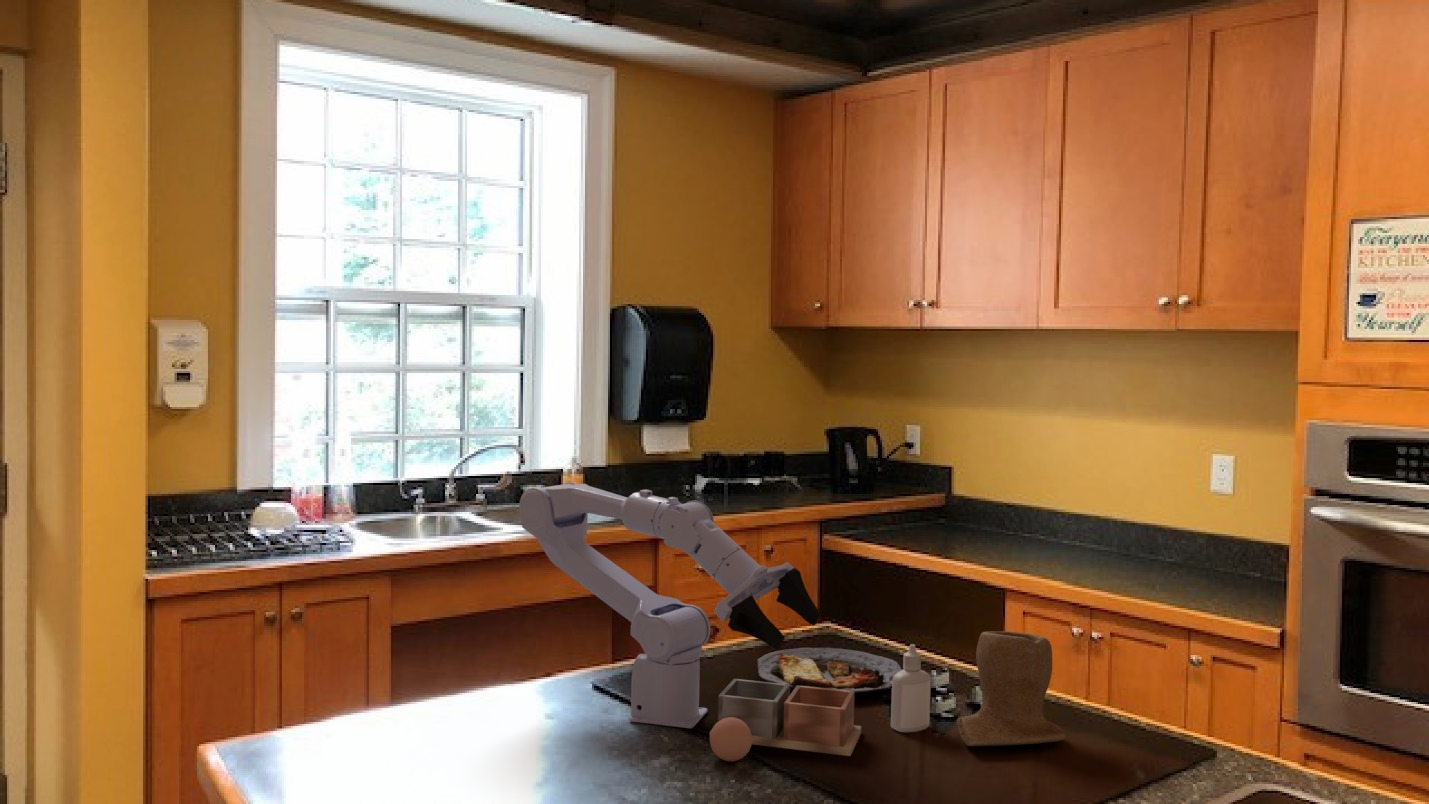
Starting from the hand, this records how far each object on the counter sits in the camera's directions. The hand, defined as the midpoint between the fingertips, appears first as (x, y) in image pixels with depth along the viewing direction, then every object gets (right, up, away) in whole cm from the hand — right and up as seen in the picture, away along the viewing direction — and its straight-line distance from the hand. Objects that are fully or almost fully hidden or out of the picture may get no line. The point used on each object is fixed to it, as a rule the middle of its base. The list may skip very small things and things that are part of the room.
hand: (799, 631), depth 153 cm
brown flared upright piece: (+29, -16, +7) cm, 34 cm away
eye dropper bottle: (+16, -16, +10) cm, 25 cm away
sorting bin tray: (-1, -16, +6) cm, 17 cm away
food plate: (+7, -15, +33) cm, 37 cm away
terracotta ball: (-9, -13, -3) cm, 17 cm away
